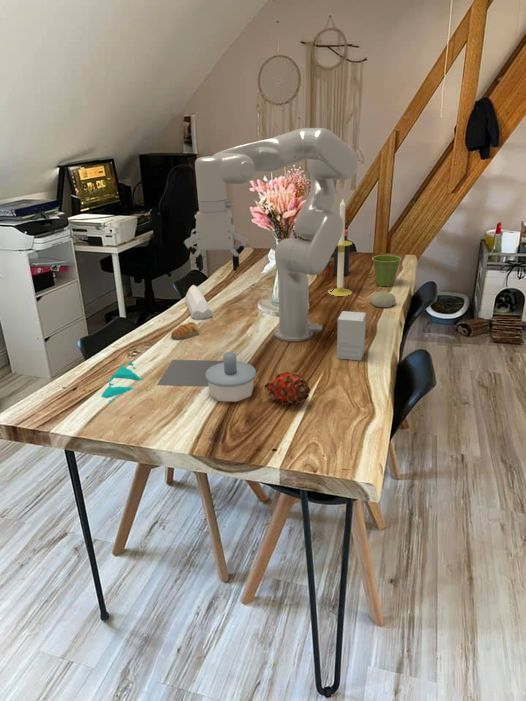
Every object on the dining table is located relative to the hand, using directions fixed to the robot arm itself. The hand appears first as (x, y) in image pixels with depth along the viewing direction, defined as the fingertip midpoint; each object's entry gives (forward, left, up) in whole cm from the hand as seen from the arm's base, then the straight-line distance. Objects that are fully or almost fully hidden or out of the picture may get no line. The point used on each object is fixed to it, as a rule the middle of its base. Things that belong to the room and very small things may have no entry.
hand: (218, 269), depth 143 cm
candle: (-35, -66, -28) cm, 80 cm away
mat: (+7, +9, -28) cm, 30 cm away
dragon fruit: (-21, +23, -28) cm, 42 cm away
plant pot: (-54, -78, -28) cm, 99 cm away
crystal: (+18, -44, -28) cm, 56 cm away
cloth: (+25, +16, -29) cm, 41 cm away
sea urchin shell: (-51, -52, -28) cm, 78 cm away
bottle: (-37, -92, -28) cm, 103 cm away
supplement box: (-38, -6, -28) cm, 47 cm away
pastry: (+17, -19, -28) cm, 38 cm away
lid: (-6, +19, -23) cm, 30 cm away
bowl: (-6, +19, -28) cm, 34 cm away
